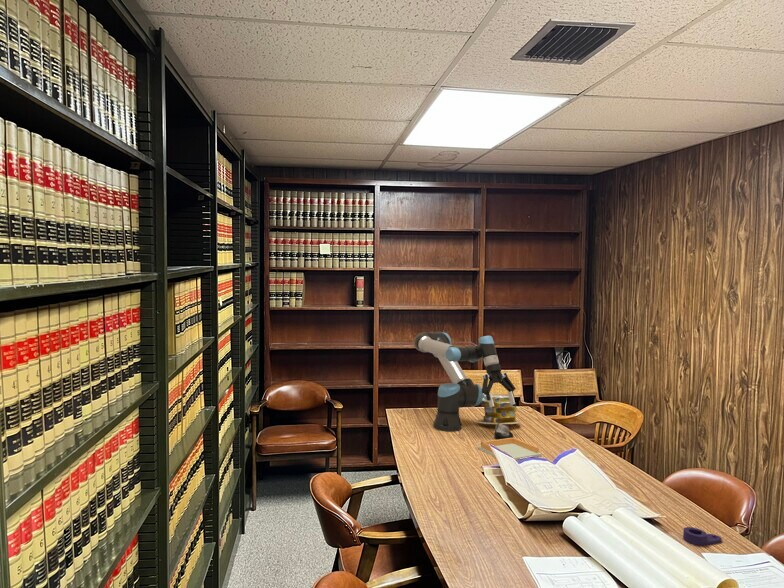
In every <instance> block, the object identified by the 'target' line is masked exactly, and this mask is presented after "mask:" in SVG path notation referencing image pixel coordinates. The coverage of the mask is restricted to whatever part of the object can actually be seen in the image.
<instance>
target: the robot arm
mask: <svg viewBox="0 0 784 588" xmlns="http://www.w3.org/2000/svg"><path fill="white" fill-rule="evenodd" d="M413 345H414V348H415V349H416V350H417V351H419V352H421V353H430V354H432V355H433V356H434V357H435V358H438V361H439V362H440V364H441V365H442V368H443V369H444V371H445V373H446V374H447V375H448V378H449V379H450V381H451V383H450V382H447V383H443V384H440V386H439V387H438V389H437V411H436V415H435V419H434V421H433V428H434V429H436V430H438V431H442V432H443V431H444V432H458V431H461V430H462V429H463V427H462V426H463V424H462V421H461V417H460V408H468V407H472V408H473V407H476V406H480V405H481V404H482V403H481V402H482V399H483V394H484V395H486V397H487V400H488V401H489V405H490V407H493V406H494V403H493V399H492V395H493V394H492V393H491V390H492V388H493V385H494V384H501V386H502V387H503V388H505V390H506V391H507V396H509V400H510V404H511V405H513V406H514V405H516V402H515V395H514V391H515V390H516V387H515V385H514V384H513V383H512V381H511V379H510V378H509V376H508V375H507V373H506V372H504V373H502V368H501V364H499V363H500V361H499V357H498V354H497V348H496V346H495V342H494V339H493V337H492V336H491V335H485V336H481V337H479V338H478V344H477V345H474V346H456V345H453V344H452V340H451V337H450V335H449V334H448V333H447V332H442V331H435V332H433V331H429V332H428V331H427V332H426V331H425V332H424V331H423V332H420V333H418V334H416V336H415V337H414V340H413ZM482 359H483V364H484V366H485V370H486V374H484V375H483V376H482V378H483V380H482V386H481V385H480V384H477V383H476V384H475V383H474V381H473V379H472V378H468V376H467V375H466V373H465V372H464V371H463V369H462V367H461V366H460V364H459V362H470V363H473V364H474V363H475V362H478V361H480V360H482Z"/></svg>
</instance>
